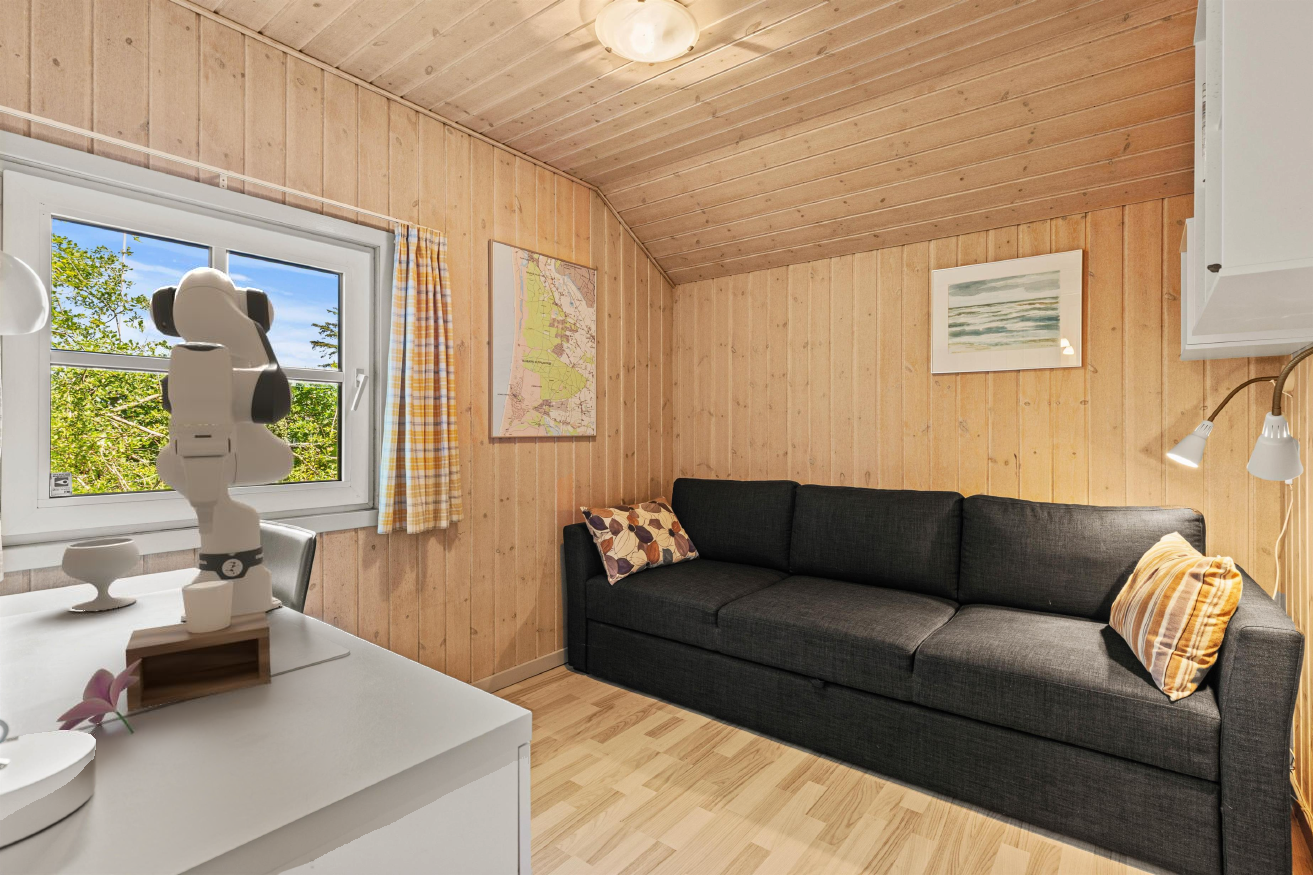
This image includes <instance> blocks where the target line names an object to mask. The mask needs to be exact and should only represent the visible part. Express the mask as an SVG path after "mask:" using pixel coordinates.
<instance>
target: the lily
mask: <svg viewBox="0 0 1313 875" xmlns="http://www.w3.org/2000/svg"><path fill="white" fill-rule="evenodd" d="M141 660H142V659H140V660H138V661H136V662H135V663H133V664H132V665H130V666H129V667H128V668H125V669H124V670H123V671H122V672H120V673H118V675H117V676H116V677H115V676H114V674H113V672H112V673H111V672H110V671H109V670H107V669H105V668H99V669H98V670H97V671H95V673H94V674H93V675H92V676H91V678H90V679H89V681H88V682H87V684H86V685H85V688H84V691H83V693H82V701H81V702H80V703H77V704H76V705H75V706H73V707H71V708H70V709H69V710H67V711H66V712H65V713H64V714H62V715H61V716H60V717H58V718H57V720H56V723H61V722H64V723H62V725H61V726H60V727H59V728H58V730H70V731H71V730H72V729H74V728H75V727H76V726H78V725H79V724H81V723H83V722H85V721H86V720H87V721H88V723H91V724H94V725H97V723H100V722H101V723H102V721H103V719H104V718H105V716H106V714H109V713H115V714H116V715H117V716H118V717H119V718H120V719H121V721H122V722H123V723H124V725H125V726H126V727H127V729H128V730H129V732H130V734H131V735H134V734H135V731H134V730H133V728H132V726H131V725H130V724H129V723H128V721H127V720H126V718H125V717H124V716H123V715H122V714H121V713H120V711H118V708H117V706H118V701H119V698H120V694H121V693H122V692H123V691H125V689H126V690H127V687H129V686H130V685H132V684H133V683H135V682H136V681H137V680H138V679H139V677H138V676H129V675H130V674H131V672H132V671H133V670H134V669H135V667H136V666H137V665H138V663H139V662H140V661H141ZM101 723H100V724H101Z"/></svg>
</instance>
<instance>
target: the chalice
mask: <svg viewBox="0 0 1313 875" xmlns="http://www.w3.org/2000/svg"><path fill="white" fill-rule="evenodd" d="M63 553H64V554H63V556H62V560H61V569H62V571H63V573H64V574H65V575H66V576H68V577H70V578H72V579H76V580H79V581H81V582H85V583H88V584H90V585H92V586H93V587H94V588H95V589H96V590H97V596H96V597H95V599H92V600H87V601H84V602H81V603H78V604H74V605H72V606H71V607H72V609H75V610H83V611H84V610H85V611H94V612H97V611H96V610H102V611H108V610H107V609H109V610H113V608H114V609H117V608H118V607H119V608H121V607H122V608H123V607H126V606H128V605H131V604H134V603H135V602H137V599H136V598H134V597H132V596H130V597H128V596H126V597H125V596H121V597H120V596H117V597H116V596H115V597H113V596H111V595H110V594H109V588H110V587H111V585H112V584H113V583H114V582H115V581H117V580H118V579H120V578H121V577H123V576H124V575H126V574H128V573H130V572H131V571H132V570H134V569H135V568H136V567H138V565H139V563H140V559H141V555H140V551H139V548H138V545H137V543H136V541H134V539H132V538H128V537H127V538H126V537H122V538H121V537H118V538H104V539H101V538H100V539H96V540H95V539H93V540H86V541H80V542H75V543H71V544H69V545H67V547H66V549H65V551H64V552H63Z"/></svg>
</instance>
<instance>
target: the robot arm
mask: <svg viewBox="0 0 1313 875" xmlns="http://www.w3.org/2000/svg"><path fill="white" fill-rule="evenodd" d="M148 309H149V315H150V318H151V321H152V323H153V325H154V326H155V328H156V330H157V331H158V332H160V333H161V334H162V335H165V336H169V337H174V338H181V339H183V342H178V343H177V344H173V346H172V347H171V352H170V357H169V365H168V374H167V375H165V376H164V377H163V378H161V396H162V397H161V400H162V401H161V403H162V404H161V406H162V410H164V411H165V412H167V414H169V415H170V418H169V420H168V421H169V422H168V435H169V436H168V437H169V439H168V440H169V442H168V443H167V444H165V446H163V447H162V449H161V450H160V451H159V452H158V455H157V457H156V459H155V460H156V461H155V470H156V473H157V475H158V477H159V479H160V480H161V481H162V482H163V483H164V484H165V485H166V486H167V487H169V488H171V489H172V490H175V492H177V493H179V494H180V495H182V496H183V497H184V498H185V499H186V500H187V501H188V503H189V505H190V507H192V508H193V509H194V511H195V513H196V516H197V522H198V533H199V535H200V549H201V550H200V552H199V554H198V561H197V562H198V569H199V570H200V571H199V573H198V574H197V575H196V576H195V577H194V578H193V579H192V580H191V583H190V584H193V583H197V582H203V581H210V580H232V581H233V594H232V606H231V616H236V615H243V614H250V613H257V612H263V611H265V613H266V612H267V611H270V610H273V609H277V608H280V607H282V606H283V602H282V601H281V600H280V599H279V598H276V597H275V596H273V586H272V585H273V582H272V572H271V571H270V570H269V569H268V568H266V567H265V566H264V564H263V562H264V555H265V554H264V551H263V546H261V525H260V524H261V522H260V520H261V519H260V515H259V513H258V511H257V510H256V509H255V508H254V507H252V506H250V505H248V504H245V503H242V502H240V501H237V500H234V499H232V498H231V497H230V494H229V489H228V488H235V487H250V486H264V485H268V484H272V483H276V482H281V481H283V480H284V481H285V479H286V478H287V477H289V475H291V472H292V470H293V468H294V463H295V462H294V461H295V457H294V452H293V450H292V448H291V447H290V445H289V444H288V443H287V442H286V441H285V440H284V439H282V438H280V437H279V436H277V435H275V434H274V433H273V432H272V431H271V430H270V429H268V427H267V426H266V425H275V424H277V423H279V422H280V421H282V420H283V419H284V418H285V417H287V415H289V414H290V413H291V409H292V405H293V391H292V386H291V383H290V382H289V380H288V377H287V375H286V374H285V372H284V371H283V370H282V367H281V366H280V364H279V362H278V359H277V357H276V354H275V352H274V349H273V347H272V345H271V342H270V340H269V337H268V336H267V333H268V332H269V331H270V330H271V328H272V326H273V322H274V317H275V311H274V307H273V303H272V302H271V300H270V299H269V297H268V295H267V293H265V291H263V290H260V289H258V288H253V287H246V288H242V287H237V286H235V284H234V282H233V281H232V279H231V278H230V277H229V276H228V275H227V274H225V273H223V272H222V271H220V270H218V269H215V268H210V267H197V268H195V269H193V270H190V271H188V272H187V273H186V274H185V275H184V276H183V277H182V279H181V280H180V282H179V285H178V286H175V285H169V286H164V287H159V288H158V289H156V290H155V291H154V292H153V293H152V297H151V299H150V302H149V308H148ZM184 341H185V342H184ZM279 606H280V607H279ZM180 621H185V622H186V615H185V612H183V613H182V614H181V616H180Z"/></svg>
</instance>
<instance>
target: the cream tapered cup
mask: <svg viewBox="0 0 1313 875" xmlns="http://www.w3.org/2000/svg"><path fill="white" fill-rule="evenodd" d="M181 592H182V599H183V607H184V613H185V615H186V621H185V623H187V629H188V631H189V632H192V633H203V632H211V631H216V630H220V629H223V628H226V627H228V626H229V625H230V619H231V606H232V594H233V581H232V580H210V581H203V582H197V583H193V584H191V583H190V584H187V585H183V586H182V587H181Z"/></svg>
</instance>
